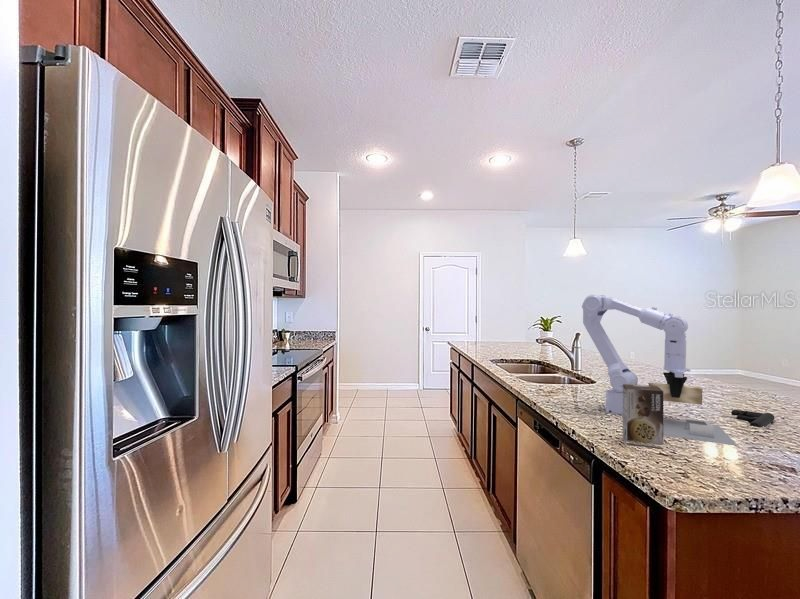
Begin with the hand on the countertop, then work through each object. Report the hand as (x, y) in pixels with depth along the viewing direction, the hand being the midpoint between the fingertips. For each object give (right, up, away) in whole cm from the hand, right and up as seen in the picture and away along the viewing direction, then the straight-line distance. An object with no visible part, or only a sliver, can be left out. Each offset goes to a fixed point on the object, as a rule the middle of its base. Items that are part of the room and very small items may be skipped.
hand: (674, 396), depth 129 cm
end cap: (0, -8, -10) cm, 13 cm away
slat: (0, -2, 0) cm, 2 cm away
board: (-1, -10, -7) cm, 12 cm away
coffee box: (-20, -10, -16) cm, 27 cm away
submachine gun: (+28, -11, +7) cm, 31 cm away
